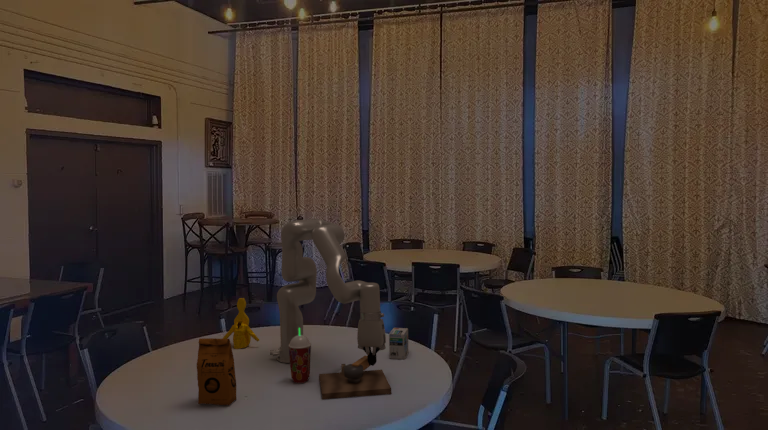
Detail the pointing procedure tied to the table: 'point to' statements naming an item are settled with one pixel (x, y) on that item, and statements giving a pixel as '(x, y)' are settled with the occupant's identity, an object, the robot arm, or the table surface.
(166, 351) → the table surface
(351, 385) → the wooden board with lever
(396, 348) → the light bulb box
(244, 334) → the figure statuette
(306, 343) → the smoothie
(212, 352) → the coffee package
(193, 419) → the table surface
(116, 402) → the table surface
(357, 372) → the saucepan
